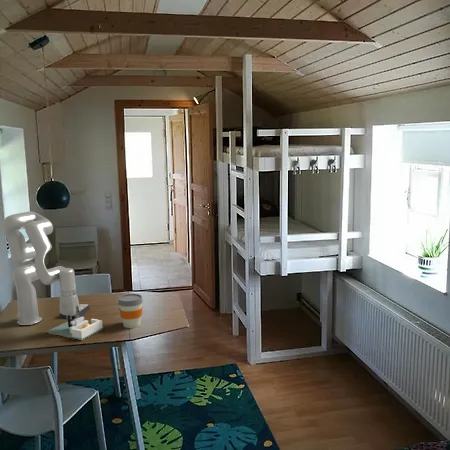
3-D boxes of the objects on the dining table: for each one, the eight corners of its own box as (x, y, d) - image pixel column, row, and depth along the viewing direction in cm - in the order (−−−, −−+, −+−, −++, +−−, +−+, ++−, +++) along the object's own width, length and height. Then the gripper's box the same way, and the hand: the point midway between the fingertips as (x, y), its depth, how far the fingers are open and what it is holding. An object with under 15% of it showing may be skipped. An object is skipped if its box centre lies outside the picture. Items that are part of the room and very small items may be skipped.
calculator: (89, 303, 280) (78, 311, 266) (89, 310, 281) (79, 319, 266) (71, 303, 282) (59, 311, 267) (71, 310, 282) (60, 318, 267)
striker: (68, 333, 243) (67, 322, 242) (83, 325, 252) (82, 315, 251) (73, 334, 241) (72, 323, 240) (88, 326, 251) (88, 316, 250)
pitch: (46, 333, 247) (45, 331, 246) (69, 322, 261) (68, 320, 260) (81, 341, 236) (81, 339, 236) (103, 329, 250) (103, 327, 250)
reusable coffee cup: (118, 322, 258) (116, 295, 256) (141, 318, 263) (139, 292, 260) (122, 330, 247) (119, 302, 244) (146, 326, 251) (144, 299, 249)
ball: (87, 327, 240) (86, 335, 242) (93, 324, 244) (92, 331, 246) (80, 323, 242) (79, 331, 243) (86, 320, 246) (85, 328, 247)
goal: (72, 336, 239) (71, 329, 238) (93, 325, 252) (92, 318, 251) (82, 338, 236) (81, 331, 235) (102, 327, 249) (102, 320, 248)
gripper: (52, 293, 245) (55, 327, 249) (74, 296, 239) (77, 331, 242) (63, 288, 252) (66, 322, 255) (84, 292, 245) (87, 326, 248)
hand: (71, 326), depth 249 cm, fingers closed
